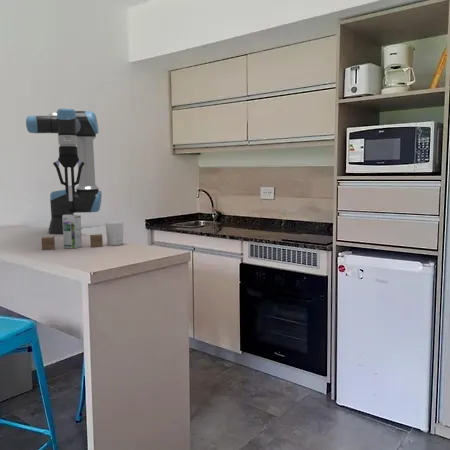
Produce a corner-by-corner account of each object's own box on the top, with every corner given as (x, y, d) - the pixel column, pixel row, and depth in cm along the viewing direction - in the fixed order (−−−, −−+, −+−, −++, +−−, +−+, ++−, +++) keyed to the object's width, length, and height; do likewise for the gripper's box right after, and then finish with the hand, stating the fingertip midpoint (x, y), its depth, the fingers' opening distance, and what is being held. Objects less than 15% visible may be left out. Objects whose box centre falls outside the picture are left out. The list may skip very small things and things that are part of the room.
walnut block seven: (42, 248, 197) (42, 236, 197) (54, 247, 199) (54, 236, 198) (42, 250, 192) (41, 238, 192) (54, 249, 194) (53, 237, 193)
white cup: (111, 246, 201) (110, 224, 199) (103, 244, 206) (102, 222, 205) (127, 244, 206) (126, 222, 205) (118, 242, 212) (118, 221, 210)
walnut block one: (90, 245, 203) (90, 234, 203) (102, 245, 205) (101, 233, 204) (91, 247, 199) (90, 236, 198) (102, 246, 200) (102, 235, 200)
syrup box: (63, 248, 197) (61, 215, 195) (72, 246, 202) (70, 213, 201) (73, 248, 195) (72, 215, 193) (82, 246, 201) (81, 214, 199)
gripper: (51, 145, 188) (54, 202, 191) (84, 145, 192) (86, 201, 195) (52, 146, 195) (55, 200, 198) (83, 146, 199) (86, 199, 202)
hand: (70, 200), depth 196 cm, fingers closed
